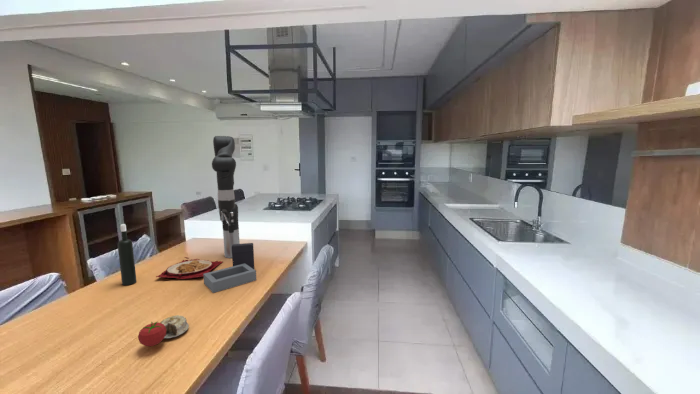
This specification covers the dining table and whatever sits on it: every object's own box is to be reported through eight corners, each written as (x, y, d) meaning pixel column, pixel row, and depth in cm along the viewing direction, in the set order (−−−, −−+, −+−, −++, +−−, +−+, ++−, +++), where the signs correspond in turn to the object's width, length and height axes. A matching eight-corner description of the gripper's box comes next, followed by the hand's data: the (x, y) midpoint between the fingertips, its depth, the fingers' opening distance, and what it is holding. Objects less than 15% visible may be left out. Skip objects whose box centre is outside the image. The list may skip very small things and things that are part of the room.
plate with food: (155, 280, 147) (154, 273, 147) (183, 262, 173) (183, 256, 172) (201, 279, 147) (200, 273, 147) (223, 261, 173) (222, 256, 172)
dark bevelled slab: (254, 267, 164) (253, 242, 162) (254, 270, 160) (252, 244, 158) (233, 269, 161) (232, 243, 159) (232, 272, 157) (231, 246, 155)
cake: (163, 324, 109) (162, 311, 108) (192, 321, 111) (191, 308, 110) (151, 340, 99) (150, 326, 98) (183, 337, 101) (182, 322, 101)
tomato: (172, 336, 101) (170, 315, 100) (158, 350, 94) (155, 329, 93) (149, 336, 101) (147, 316, 100) (133, 351, 94) (130, 329, 93)
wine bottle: (128, 285, 141) (122, 225, 137) (119, 284, 142) (112, 225, 138) (139, 280, 147) (133, 223, 143) (130, 279, 148) (123, 222, 144)
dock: (204, 283, 144) (203, 273, 143) (245, 272, 158) (244, 263, 157) (213, 292, 134) (212, 282, 133) (256, 280, 148) (256, 270, 147)
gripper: (213, 197, 143) (215, 229, 146) (223, 201, 133) (225, 235, 135) (228, 196, 148) (230, 227, 151) (239, 199, 138) (241, 232, 140)
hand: (228, 231), depth 143 cm, fingers open, 8 cm apart
